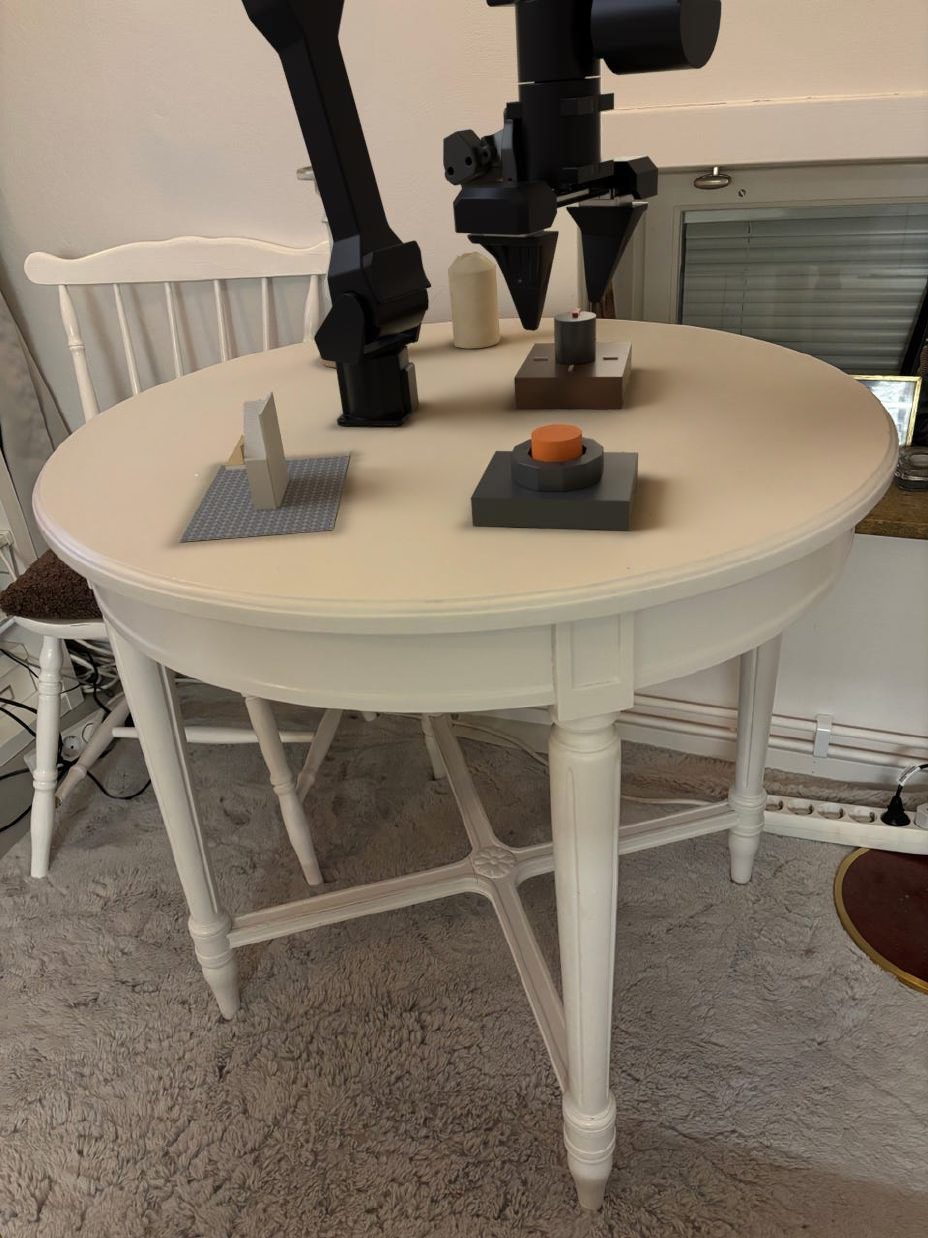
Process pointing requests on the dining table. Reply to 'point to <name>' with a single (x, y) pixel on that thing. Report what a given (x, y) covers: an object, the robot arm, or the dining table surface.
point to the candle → (474, 301)
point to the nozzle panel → (574, 379)
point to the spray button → (556, 443)
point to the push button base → (557, 490)
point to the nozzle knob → (575, 337)
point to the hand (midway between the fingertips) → (564, 315)
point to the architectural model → (268, 486)
